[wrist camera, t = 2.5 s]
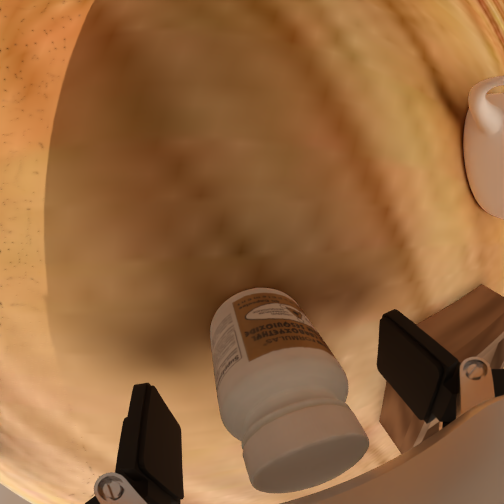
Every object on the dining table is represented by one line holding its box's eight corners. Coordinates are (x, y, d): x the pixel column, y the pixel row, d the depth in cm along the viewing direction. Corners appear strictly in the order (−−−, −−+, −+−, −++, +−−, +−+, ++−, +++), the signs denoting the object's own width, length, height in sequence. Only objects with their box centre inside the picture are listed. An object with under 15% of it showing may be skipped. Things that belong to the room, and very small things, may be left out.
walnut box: (389, 334, 15) (438, 384, 10) (479, 282, 16) (524, 309, 12) (377, 419, 19) (406, 460, 14) (457, 369, 20) (488, 398, 15)
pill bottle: (316, 300, 13) (412, 417, 6) (275, 368, 14) (328, 492, 7) (231, 270, 12) (283, 421, 4) (196, 350, 13) (209, 499, 5)
